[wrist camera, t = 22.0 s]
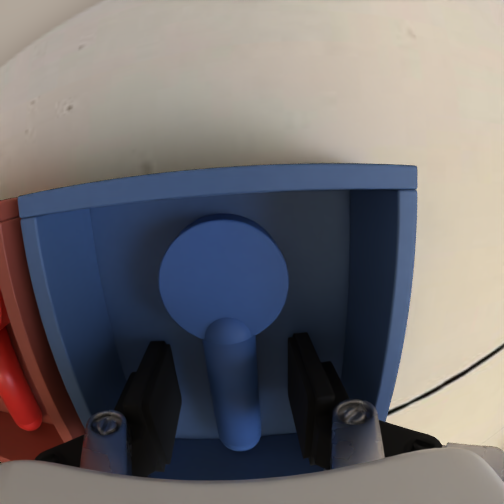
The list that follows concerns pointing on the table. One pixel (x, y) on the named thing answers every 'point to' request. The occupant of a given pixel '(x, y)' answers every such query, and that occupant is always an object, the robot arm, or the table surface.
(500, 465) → the robot arm
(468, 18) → the table surface
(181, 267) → the blue spoon
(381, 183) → the blue bin
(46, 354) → the red bin
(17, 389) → the red ping pong paddle
